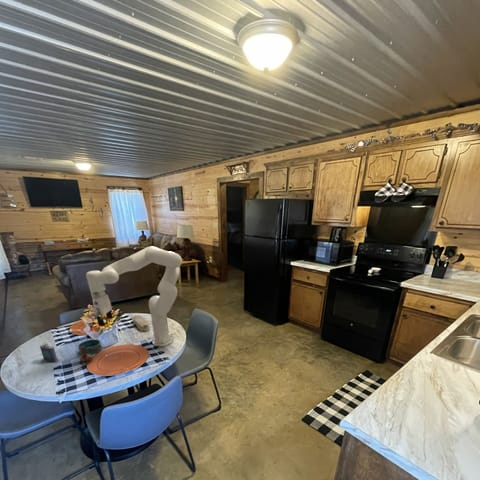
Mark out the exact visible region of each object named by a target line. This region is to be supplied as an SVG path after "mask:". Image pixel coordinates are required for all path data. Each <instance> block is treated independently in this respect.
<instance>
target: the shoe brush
mask: <svg viewBox="0 0 480 480" xmlns="http://www.w3.org/2000/svg"><path fill="white" fill-rule="evenodd" d="M131 318H132V322H133V324H134V325H135V326H136V327H137V328H138V330H139V331H141V332H147V331H149V330H150V323H149V322H148V321H147V320H146V319H145V318H144V317H143V316H141V315H134V316H132V317H131Z"/></svg>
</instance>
